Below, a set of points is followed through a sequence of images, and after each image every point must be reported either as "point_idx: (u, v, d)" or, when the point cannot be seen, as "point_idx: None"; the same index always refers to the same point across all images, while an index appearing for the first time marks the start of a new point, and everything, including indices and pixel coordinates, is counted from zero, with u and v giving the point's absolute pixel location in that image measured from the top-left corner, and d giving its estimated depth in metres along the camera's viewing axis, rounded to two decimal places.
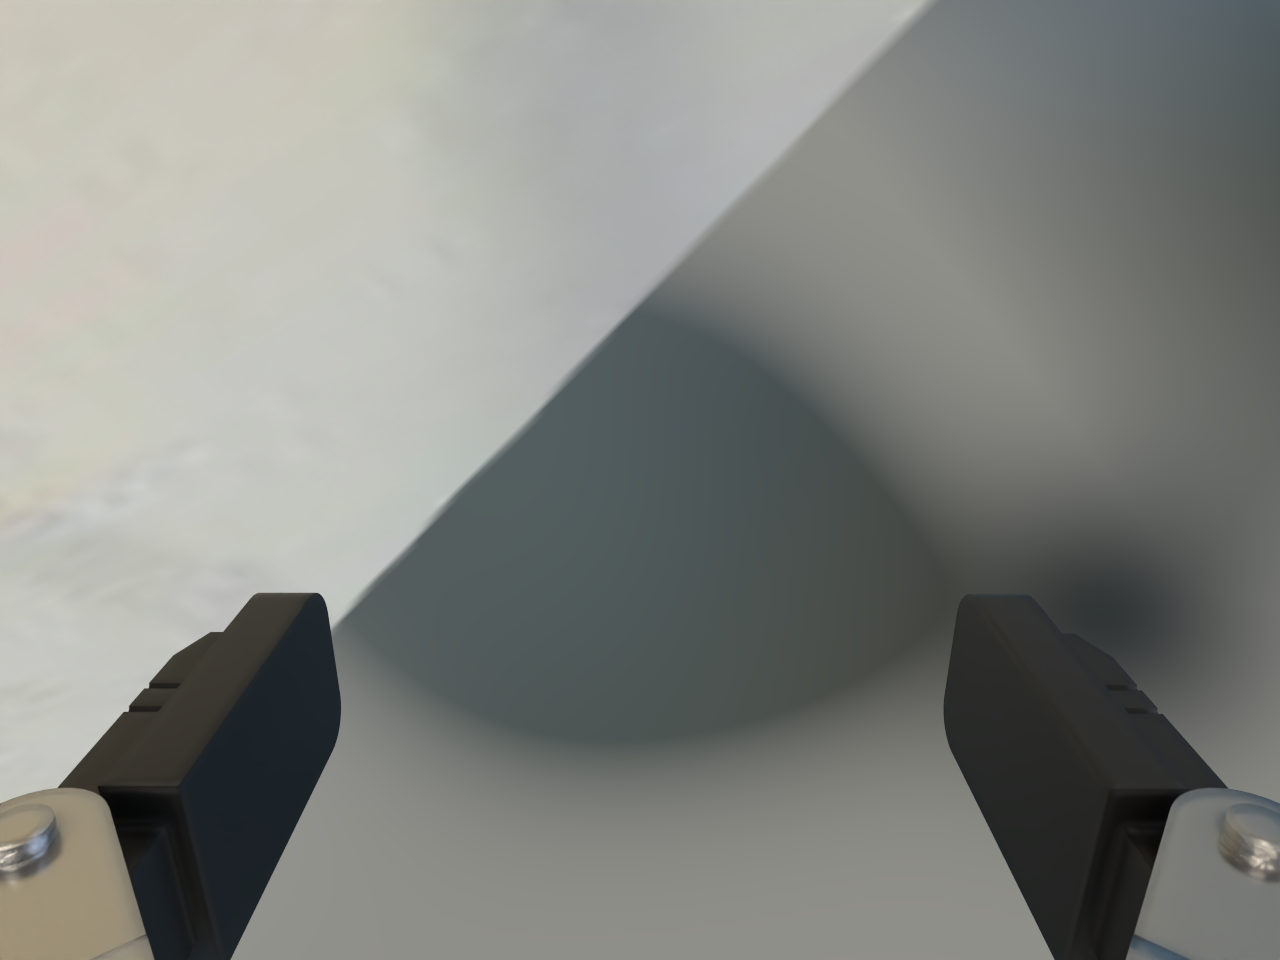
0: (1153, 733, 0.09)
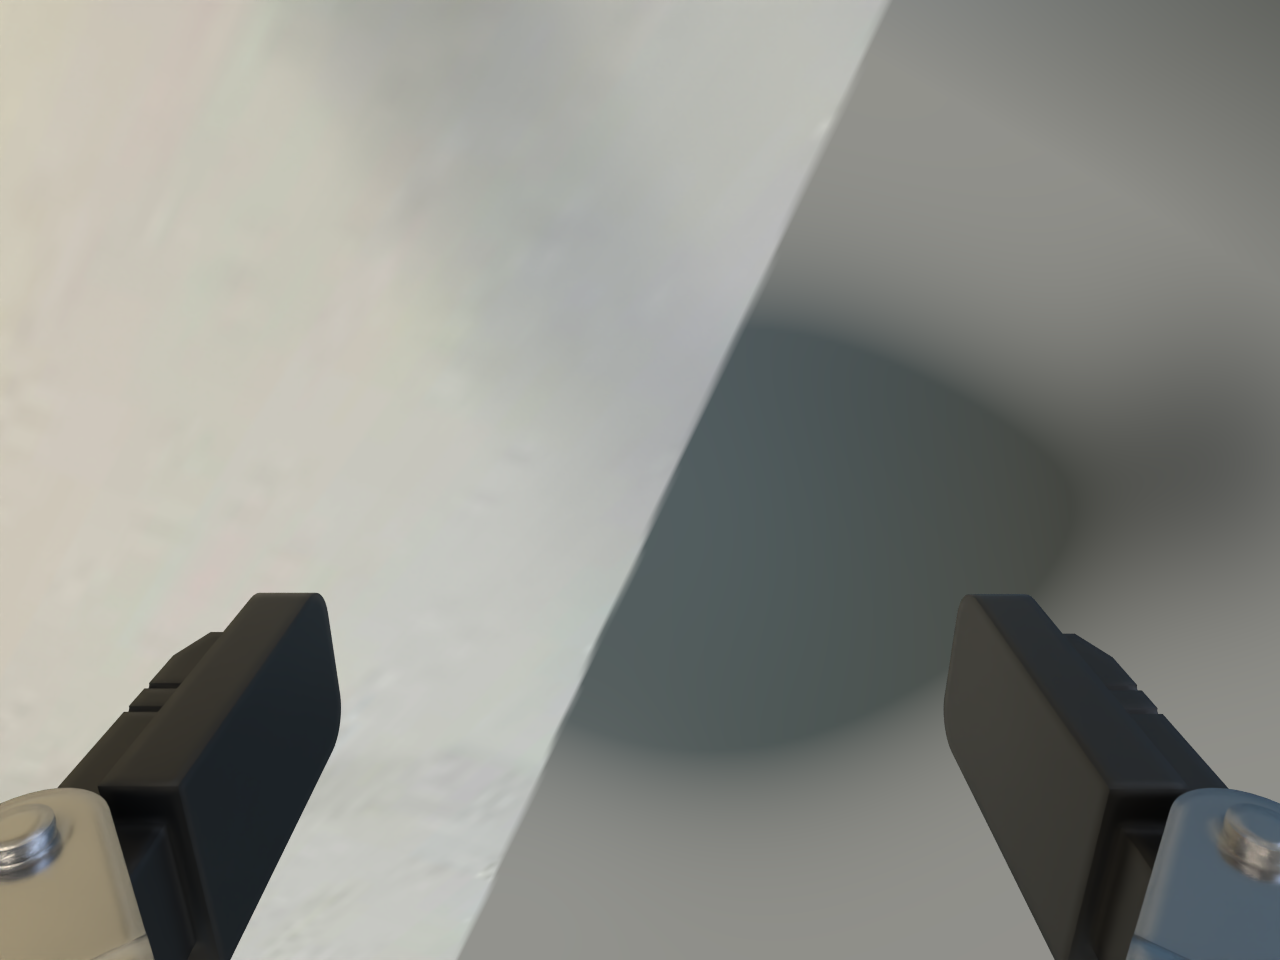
0: (1153, 733, 0.09)
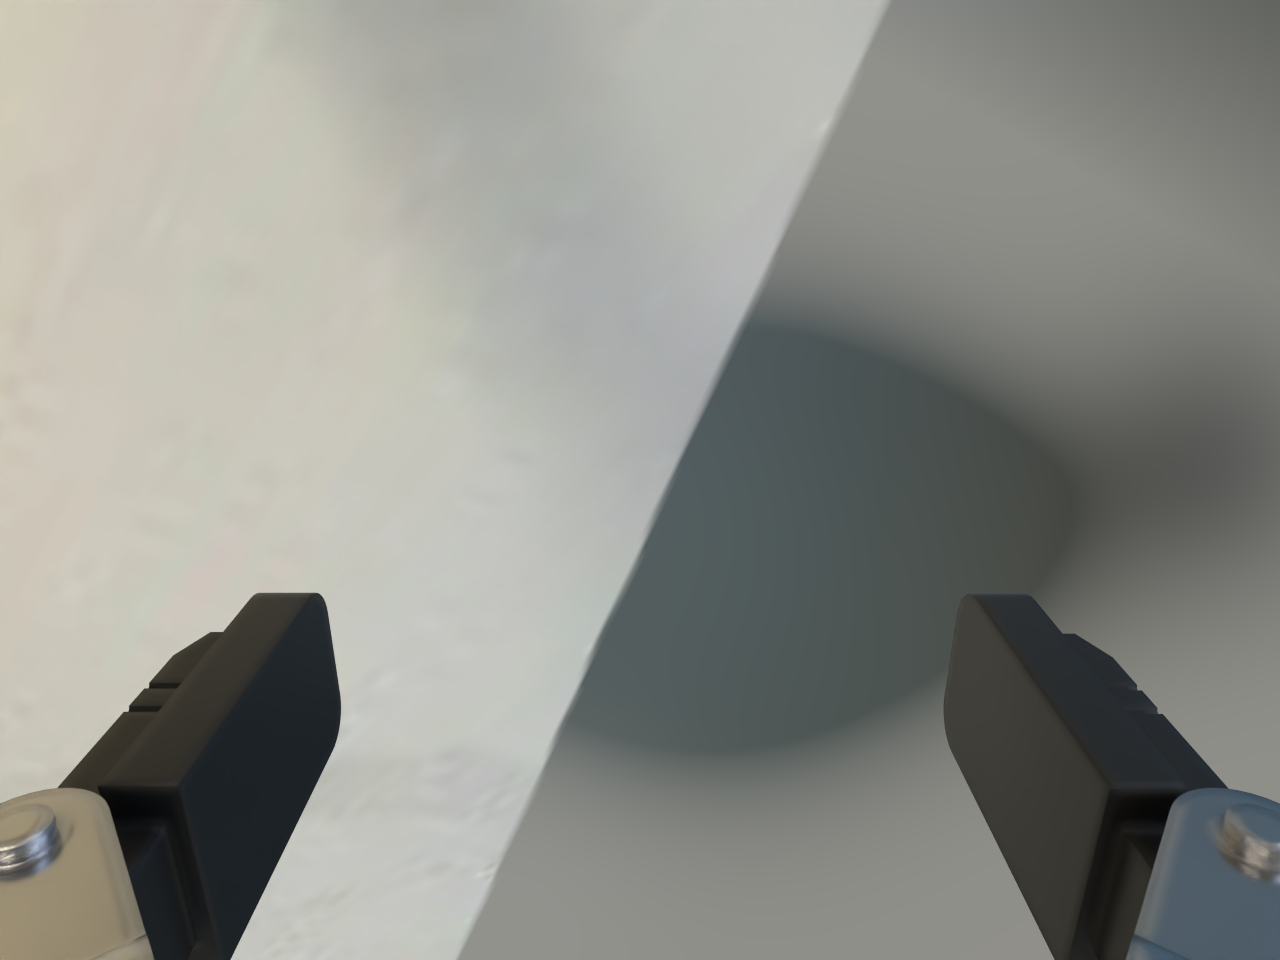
0: (1153, 733, 0.09)
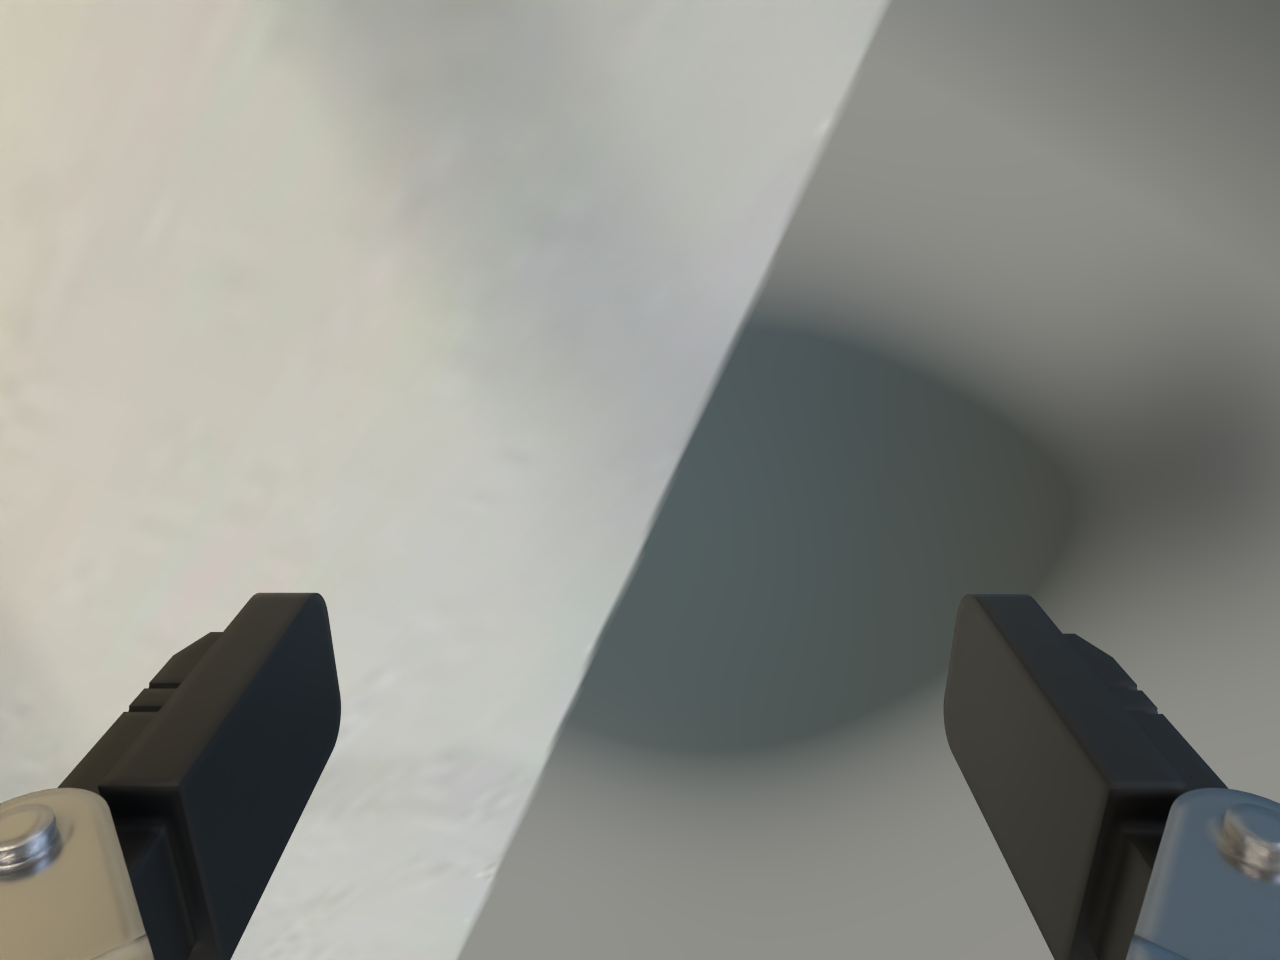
0: (1153, 733, 0.09)
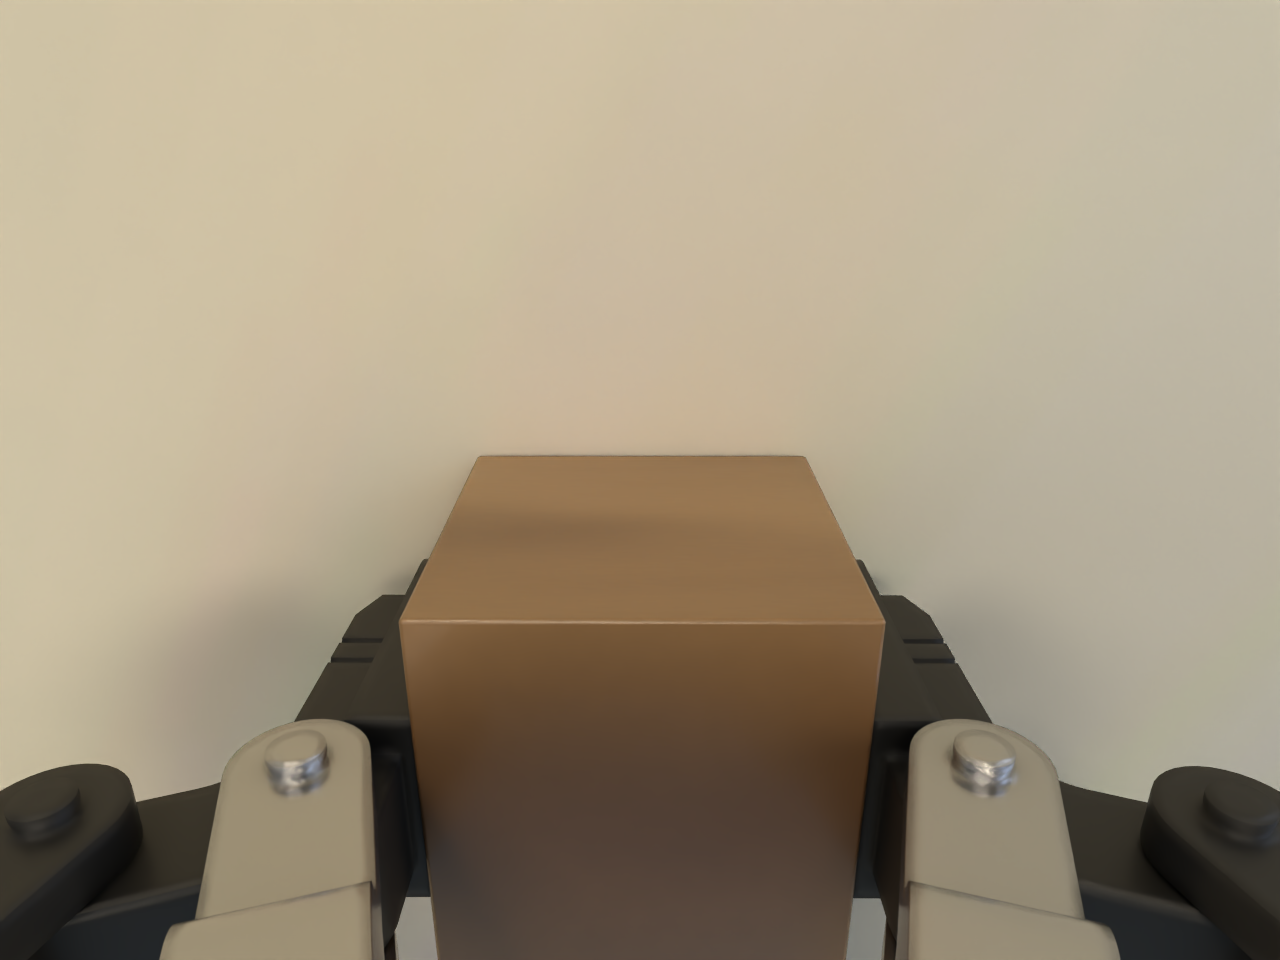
0: (942, 679, 0.10)
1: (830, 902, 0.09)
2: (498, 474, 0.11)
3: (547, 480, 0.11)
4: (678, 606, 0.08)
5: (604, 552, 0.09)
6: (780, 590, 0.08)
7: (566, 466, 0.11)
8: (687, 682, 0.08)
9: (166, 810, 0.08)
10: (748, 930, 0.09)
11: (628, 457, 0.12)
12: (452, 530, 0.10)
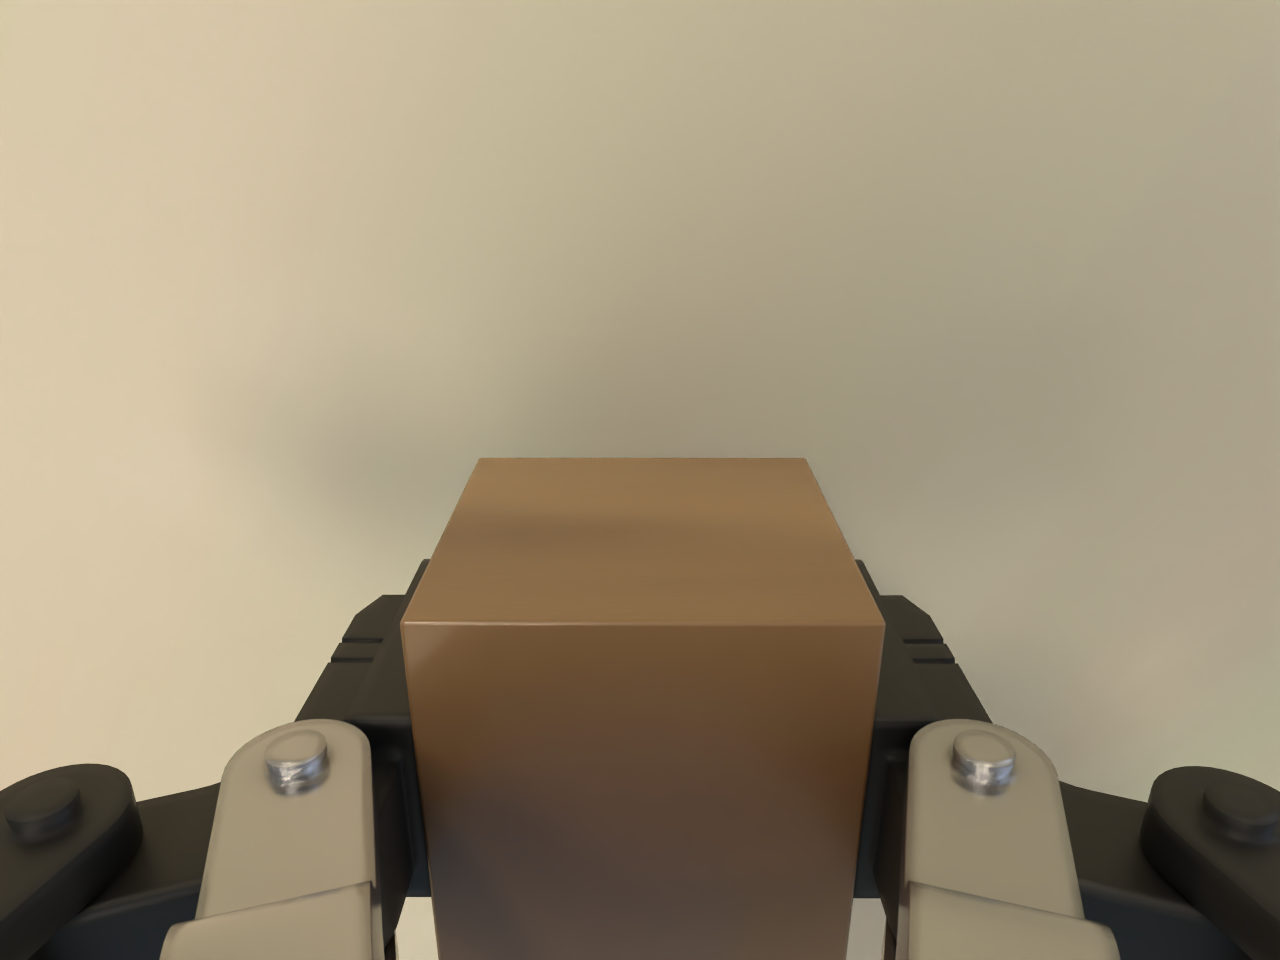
0: (942, 679, 0.10)
1: (830, 903, 0.09)
2: (498, 476, 0.11)
3: (548, 482, 0.11)
4: (678, 608, 0.08)
5: (606, 553, 0.09)
6: (780, 592, 0.08)
7: (567, 468, 0.11)
8: (688, 682, 0.08)
9: (166, 811, 0.08)
10: (748, 931, 0.09)
11: None
12: (453, 532, 0.10)
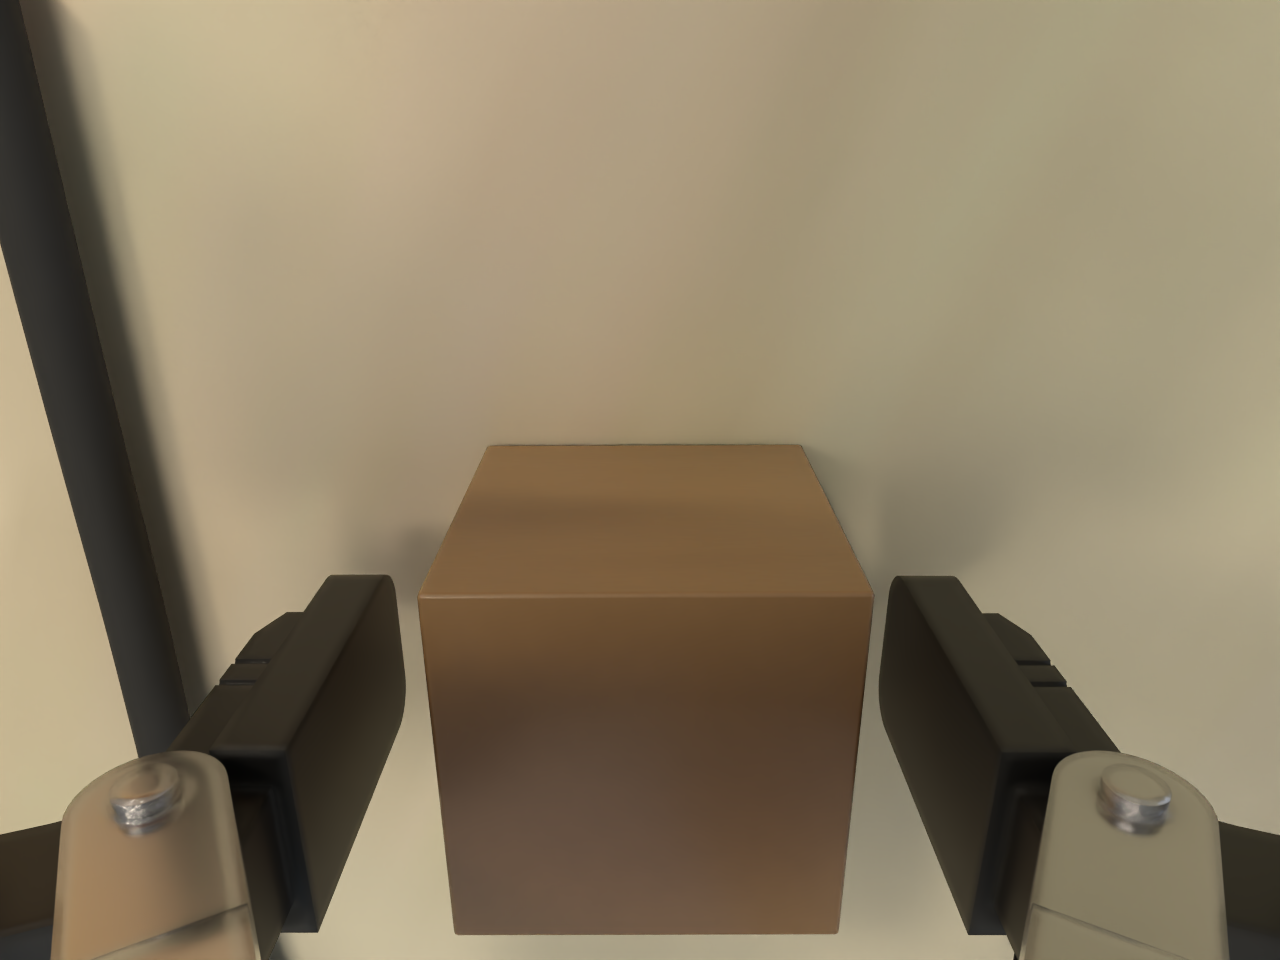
0: (1058, 704, 0.09)
1: (824, 863, 0.10)
2: (506, 463, 0.12)
3: (555, 468, 0.11)
4: (679, 581, 0.09)
5: (611, 532, 0.10)
6: (775, 566, 0.09)
7: (572, 455, 0.12)
8: (687, 652, 0.09)
9: (11, 848, 0.07)
10: (746, 891, 0.10)
11: None
12: (465, 513, 0.10)
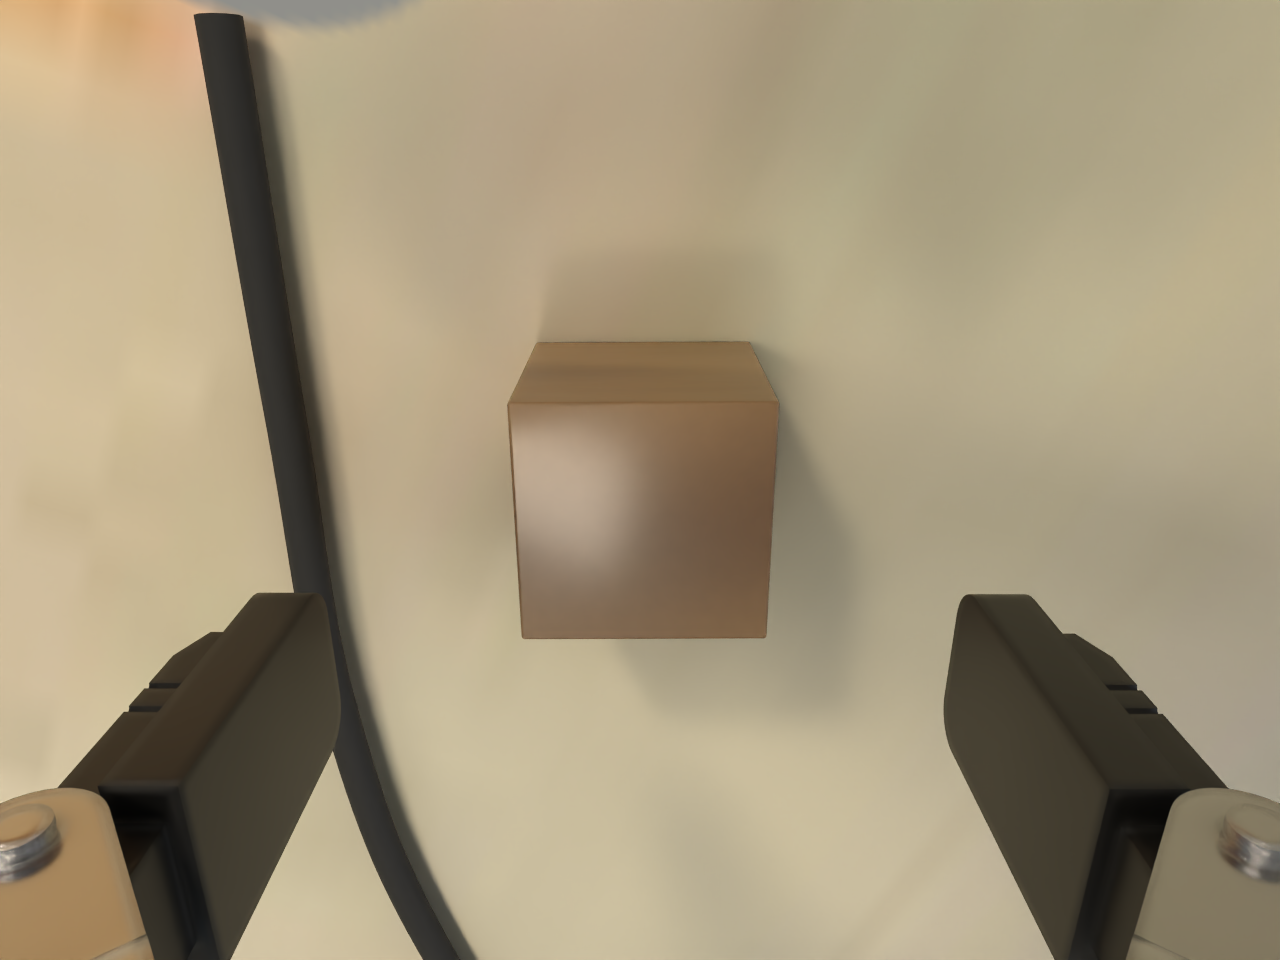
0: (1153, 733, 0.09)
1: (755, 586, 0.15)
2: (550, 350, 0.17)
3: (583, 352, 0.17)
4: (663, 397, 0.14)
5: (622, 379, 0.15)
6: (722, 392, 0.15)
7: (594, 346, 0.18)
8: (668, 440, 0.14)
9: None
10: (707, 606, 0.16)
11: (634, 342, 0.18)
12: (528, 372, 0.16)
